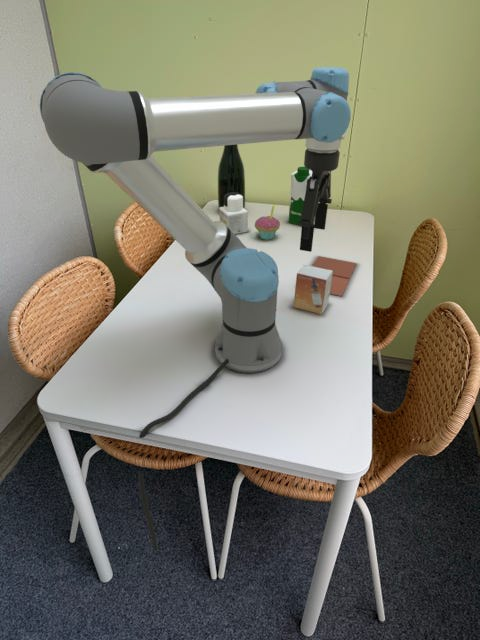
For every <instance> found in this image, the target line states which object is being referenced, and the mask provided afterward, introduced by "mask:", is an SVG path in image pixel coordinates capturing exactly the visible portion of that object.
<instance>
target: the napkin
mask: <svg viewBox="0 0 480 640" xmlns="http://www.w3.org/2000/svg"><path fill="white" fill-rule="evenodd" d="M312 266H313V267H317V268H322V269H326V270H332V271H333V274H332V280H331V287H330V293H329V295H332V296H336V297H337V296H338V297H343V295H344V293H345V291H346V288H347V286H348V284H349V281H350V280H351V277H352V275H353V274H354V270H355V268H356V266H357V262H353V261H347V260H342V259H336V258H330V257H326V256H321V255H318V256H317V258H316V260H315V261H314V262H313V264H312Z"/></svg>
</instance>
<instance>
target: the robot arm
mask: <svg viewBox="0 0 480 640" xmlns="http://www.w3.org/2000/svg"><path fill="white" fill-rule="evenodd" d="M349 85H350V73H349V71H348V70H347V69H345V68H344V67H335V66H322V67H321V66H320V67H315V68H314V69H313V70H312V71H311V76H310V79H308V80H298V81H297V80H295V81H275V80H274V81H272V82H265V83H261V84H260V85H258V87H257V88H256V90H255V93H241V94H240V93H239V94H217V95H216V94H215V95H195V96H191V95H189V96H172V97H171V96H170V97H168V96H167V97H151V98H150V97H147V96H145V95H144V94H143V93H142V92H140V90H129V91H128V90H127V91H125V90H115V89H109V88H104V87H103V86H101V84H100V83H99V82H98V80H96V79H93V78H92V77H91V76H89V75H87V74H86V73H85V74H84V73H80V72H77V71H76V72H73V71H70V72H69V71H68V72H64V73H61V74H58V75H56V76H55V77H53V78H51V80H50V81H49V82H48V83H47V84H46V86H45V87H44V88H43V90H42V93H41V95H40V98H39V99H40V100H39V111H40V116H41V119H42V122H43V124H44V128H45V131H46V134H47V136H48V138H49V140H50V141H51V143H52V145H53V146H54V147H55V148H56V149H57V150H58V151H59V152H60V153H61V154H63V156H65V157H67V158H69V159H71V160H73V161H75V162H78V163H81V164H82V165H83V166H85V167H86V168H87V169H88V170H89V172H91V173H93V174H94V173H97V174H98V173H99V174H100V173H104V174H105V175H107V177H108V178H110V180H111V181H113V183H114V184H116V185H117V186H118V187H119V188H120V189H121V190H122V191H123V192H124V193H125V194H126V195H127V196H128V197H130V198H131V200H132V201H134V202H135V203H136V204H137V205H138V206H139V207H140V208H141V209H142V210H143V211H144V212H145V213H146V214H147V215H148V216H150V218H152V219H153V220H154V221H155V222H156V223H157V224H158V225H159V226H160V227H161V228H162V229H163V230H164V231H165V232H166V233H168V235H169V236H171V237H172V238H173V240H175V241H176V242H177V243H178V244H179V245H180V246H181V247H182V248H183V249H185V250H184V256H185V259H186V261H187V262H188V263H189V264H190V265H191V266H192V267H194V268H195V270H197V271H198V272H199V273H200V274H201V275H202V276H203V277H204V278H205V279H206V280H207V282H208V283H209V284H210V285H211V287H212V288H213V290H214V291H215V292H216V294H217V295H218V297H219V298H220V301H221V315H222V317H221V318H222V324H221V326H220V329H219V333H218V335H217V337H216V340H215V343H214V349H215V356H216V359H217V361H219V363H220V365H219V366H218V367H217V368H216V369H215V371H214V372H213V373H212V374H211V375H210V376H209V377H208V378H207V379H205V380H204V381H203V382H202V383H201V384H200V385H198V386H197V387H196V388H194V390H192V391H191V392H190V393H189V394H187V396H186V397H185V398H184V399H182V401H181V402H180V403H179V404H178V405H177V406H176V407H175V408H174V409H173V410H172V411H170V412H169V413H168V414H167V415H164V416H161V417H158V418H156V419H155V420H153V421H151V422H149V423H148V424H147V425H146V426H145V427H144V428H143V429H142V431H141V432H140V434H139V436H138V438H139V439H143V438H145V436H146V435H147V433H148V432H149V431H150V430H151V429H153V428H154V427H156V426H157V425H160V424H163V423H165V422H167V421H170V419H172V418H174V417H175V416H176V415H177V414H178V413H180V411H182V409H184V407H185V406H186V405H187V404H188V403H189V401H191V400H192V398H194V397H195V396H196V395H197V394H199V393H200V392H202V390H203V389H204V388H206V387H207V386H208V385H209V384H210V383H212V382H213V380H215V379H216V377H217V376H218V375H219V374H220V373H221V372H222V370H223V369H225V368H227V369H229V370H232V371H235V372H237V373H245V374H253V373H255V374H256V373H260V372H265V371H266V370H269V369H272V367H275V365H277V364H278V362H279V361H280V360H281V357H282V353H283V342H282V340H281V336H280V334H279V331H278V328H277V325H276V318H277V303H278V288H279V283H280V280H279V269H278V265H277V262H276V261H275V260H274V258H273V257H272V256H271V255H269V254H268V253H266V252H264V251H263V250H261V251H258V249H255V248H251V247H250V248H249V247H247V246H245V244H244V243H243V241H241V239H240V238H239V237H238V236H237V234H233V232H232V231H231V230H230V229H229V228H228V227H227V226H226V225H225V224H224V223H223V222H221V221H220V220H214V221H213V220H212V218H211V217H210V216H209V215H208V214H207V213H206V212H205V211H204V210H203V209H202V208H201V207H200V205H198V203H197V202H196V201H195V200H194V199H193V198H192V197H191V196H190V195H189V194H188V193H187V191H185V189H184V188H183V187H182V186H181V185H180V184H179V183H178V181H177V180H175V179H174V178H173V176H171V174H170V173H169V171H167V170H166V169H165V168H164V166H163V165H162V164H161V163H159V161H158V160H157V159H156V158H155V157H154V156H153V154H154V153H155V152H165V151H177V150H178V151H179V150H189V149H201V148H213V147H224V146H225V145H236V144H237V145H247V144H259V143H269V142H281V141H292V140H305V147H306V149H305V150H304V160H303V167H306V168H307V169H309V170H311V171H312V177H311V176H310V177H309V179H308V180H307V187H306V193H305V198H304V203H303V209H302V214H301V219H300V221H298V224H300V225H299V226H301V225H302V226H301V229H300V240H299V241H300V243H299V251H303V252H309V253H311V252H312V250H313V242H314V235H315V234H314V233H315V230H316V229H317V230H321V231H322V230H323V231H325V229H326V224H327V215H328V207H329V204H332V201H333V199H332V198H331V197H332V191H331V190H332V172H333V171H335V170H337V169H338V167H339V161H340V154H341V153H340V150H339V149H340V148H341V144H342V140H345V137H346V135H345V133H346V132H347V130H348V128H349V126H350V122H351V120H352V119H351V116H352V115H351V114H352V111H351V106H350V104H349V102H348V96H349ZM306 219H307V220H306ZM137 472H138V486H139V493H140V497H141V503H142V507H143V510H144V514H145V519H146V523H147V525H148V531H149V534H150V538H151V543H152V546H153V547H152V548H153V551H157V550H158V549H159V547H158V542H157V537H156V532H155V528H154V524H153V520H152V515H151V512H150V509H149V504H148V499H147V494H146V488H145V486H146V485H145V480H144V479H145V478H144V472H141V471H140V470H138V471H137Z"/></svg>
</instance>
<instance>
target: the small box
mask: <svg viewBox="0 0 480 640" xmlns="http://www.w3.org/2000/svg"><path fill="white" fill-rule="evenodd" d="M332 274H333V271H332V270H326V269H322V268H317V267H313V265H309V264H306V263H304V264H303V265H302V266H301V267H300V269H299V270H298V271H297V273H296V277H295V289H294V297H293V308H295V309H300V310H303V311H307V312H310V313H314V314H317V315H321V316H322V315H323V313H324V311H325V310H326V309H327V307H328V305H329V300H330V299H329V298H330V294H329V293H330V287H331V280H332Z"/></svg>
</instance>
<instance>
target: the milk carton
mask: <svg viewBox="0 0 480 640" xmlns="http://www.w3.org/2000/svg"><path fill="white" fill-rule="evenodd" d="M310 176H311V177H312V171H311V170H310V169H307V168H306V167H305V166H298V167H297V170H295V171H293V172H291V173H290V195H289V208H288V209H289V210H288V223H290V224H294V225H297V226H301V227H302V225H300V224H298V221H300V219H301V214H302V209H303V203H304V198H305V193H306V187H307V180H308V179H309V177H310ZM306 220H307V219H306Z"/></svg>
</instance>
